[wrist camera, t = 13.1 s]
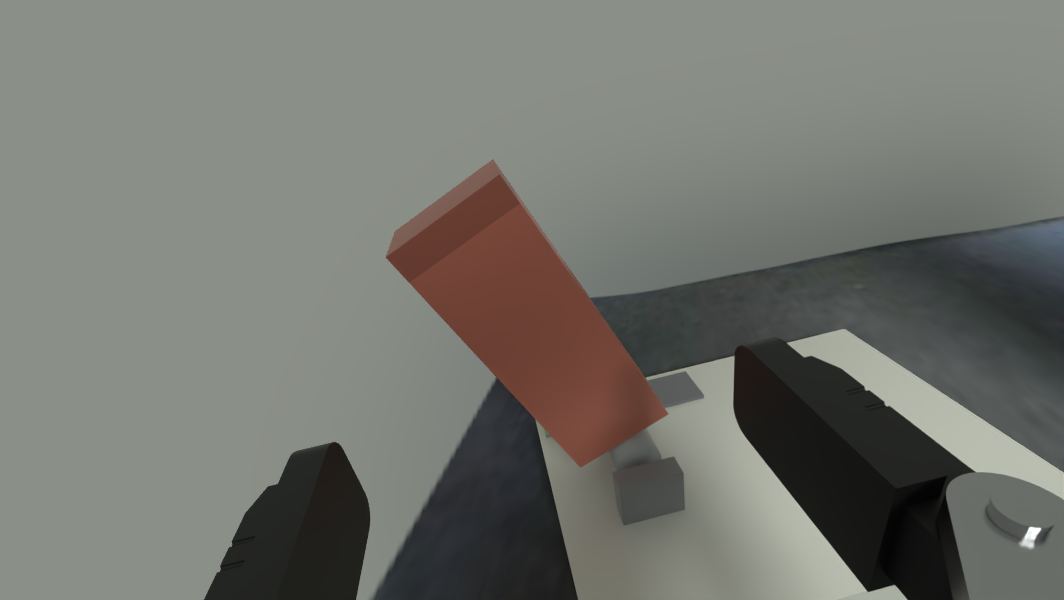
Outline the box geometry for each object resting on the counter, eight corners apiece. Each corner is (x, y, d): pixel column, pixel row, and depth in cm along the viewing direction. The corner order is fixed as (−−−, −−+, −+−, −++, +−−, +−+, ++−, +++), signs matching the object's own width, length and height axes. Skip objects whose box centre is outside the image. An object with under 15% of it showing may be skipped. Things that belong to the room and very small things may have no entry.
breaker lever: (660, 398, 21) (491, 157, 15) (693, 449, 18) (501, 176, 12) (586, 444, 21) (396, 227, 16) (607, 501, 19) (384, 262, 13)
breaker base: (840, 351, 26) (849, 296, 24) (1111, 546, 15) (1159, 472, 14) (537, 426, 25) (525, 374, 23) (600, 691, 14) (586, 630, 13)
